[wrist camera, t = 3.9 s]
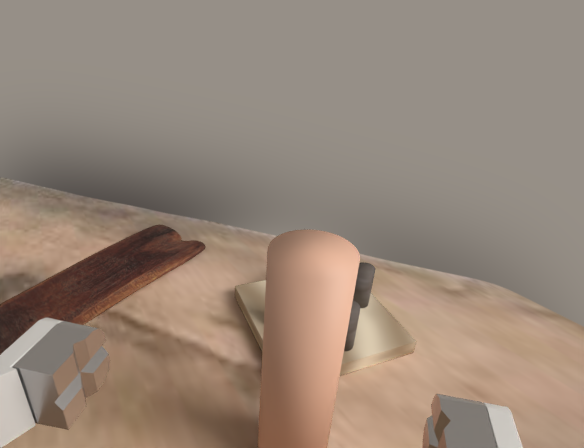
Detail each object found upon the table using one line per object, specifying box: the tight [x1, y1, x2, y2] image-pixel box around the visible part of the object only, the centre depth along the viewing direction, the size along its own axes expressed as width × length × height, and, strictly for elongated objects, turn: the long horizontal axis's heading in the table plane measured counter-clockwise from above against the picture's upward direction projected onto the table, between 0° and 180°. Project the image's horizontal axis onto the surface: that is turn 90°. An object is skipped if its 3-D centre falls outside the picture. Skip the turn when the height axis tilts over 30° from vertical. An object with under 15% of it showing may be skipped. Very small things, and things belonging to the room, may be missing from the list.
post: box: [258, 230, 360, 448], centre depth 27 cm, size 5×5×18 cm
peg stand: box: [235, 263, 417, 376], centre depth 43 cm, size 14×14×6 cm
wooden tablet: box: [0, 225, 205, 355], centre depth 48 cm, size 26×2×10 cm
